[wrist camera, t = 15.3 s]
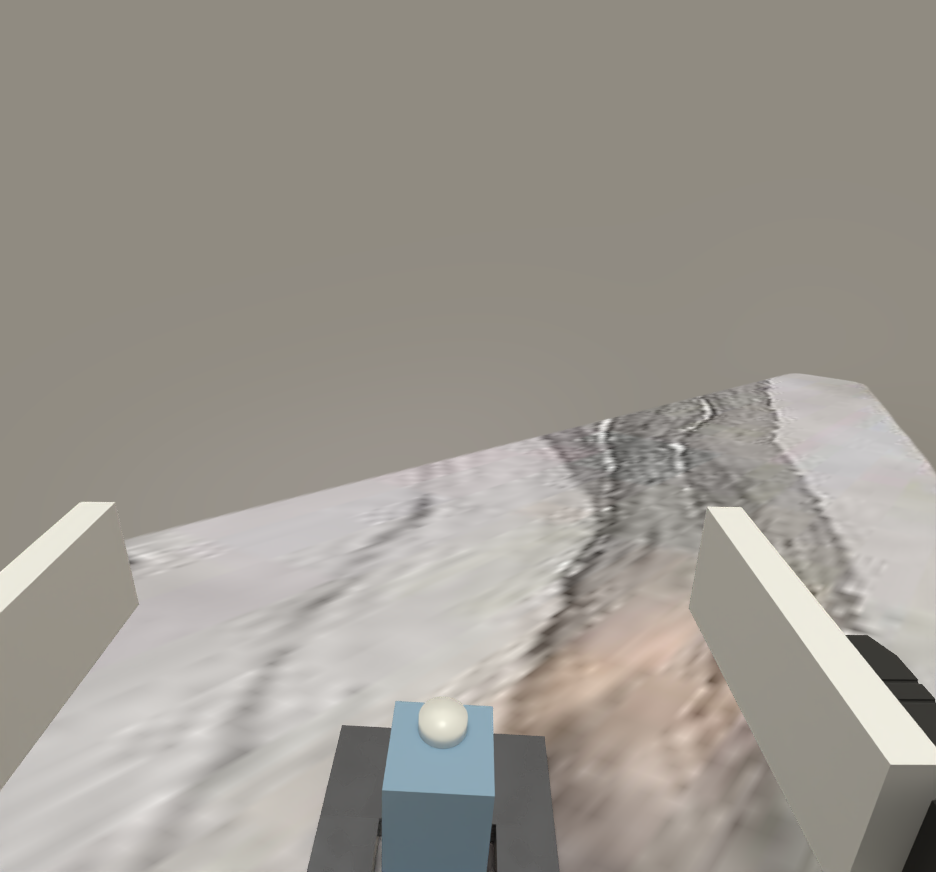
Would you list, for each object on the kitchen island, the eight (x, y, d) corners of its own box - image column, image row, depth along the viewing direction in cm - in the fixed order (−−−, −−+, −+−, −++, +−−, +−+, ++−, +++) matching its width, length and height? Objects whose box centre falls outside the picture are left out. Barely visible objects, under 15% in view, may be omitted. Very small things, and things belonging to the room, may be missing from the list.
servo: (477, 1012, 31) (497, 840, 26) (374, 1007, 31) (373, 833, 26) (478, 815, 40) (492, 659, 35) (398, 811, 40) (401, 654, 35)
